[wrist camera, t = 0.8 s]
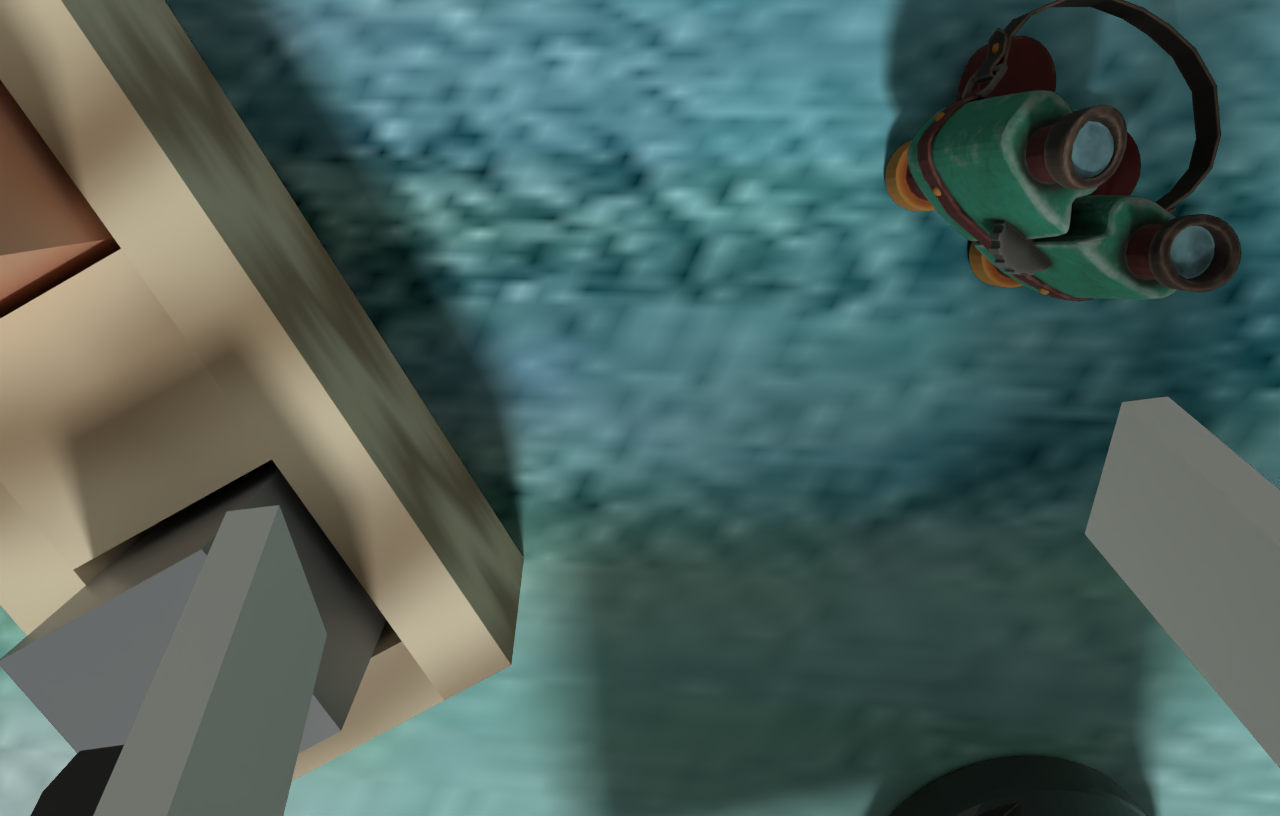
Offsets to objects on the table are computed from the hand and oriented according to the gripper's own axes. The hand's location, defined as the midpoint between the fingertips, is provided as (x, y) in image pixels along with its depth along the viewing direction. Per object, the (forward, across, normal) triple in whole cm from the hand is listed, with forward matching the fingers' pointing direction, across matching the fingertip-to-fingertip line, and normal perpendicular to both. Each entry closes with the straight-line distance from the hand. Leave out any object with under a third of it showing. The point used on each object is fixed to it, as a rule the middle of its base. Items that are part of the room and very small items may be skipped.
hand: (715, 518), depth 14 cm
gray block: (+13, +13, +11) cm, 21 cm away
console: (+20, +16, +6) cm, 26 cm away
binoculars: (+21, -16, +2) cm, 26 cm away
